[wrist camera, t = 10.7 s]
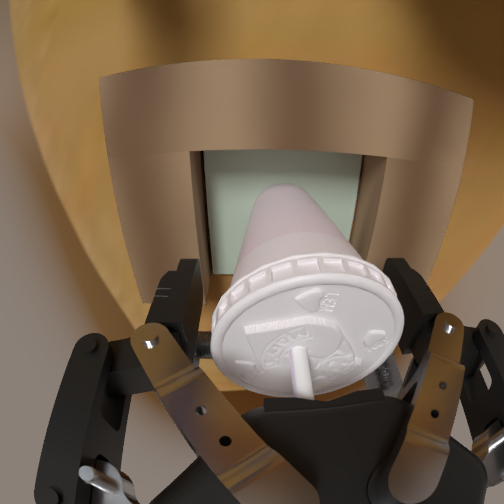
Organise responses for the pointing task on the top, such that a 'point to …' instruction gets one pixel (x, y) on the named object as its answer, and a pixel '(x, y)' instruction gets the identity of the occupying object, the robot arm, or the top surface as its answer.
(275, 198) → the smoothie
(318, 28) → the top surface
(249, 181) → the bay mat
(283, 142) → the tan frame
